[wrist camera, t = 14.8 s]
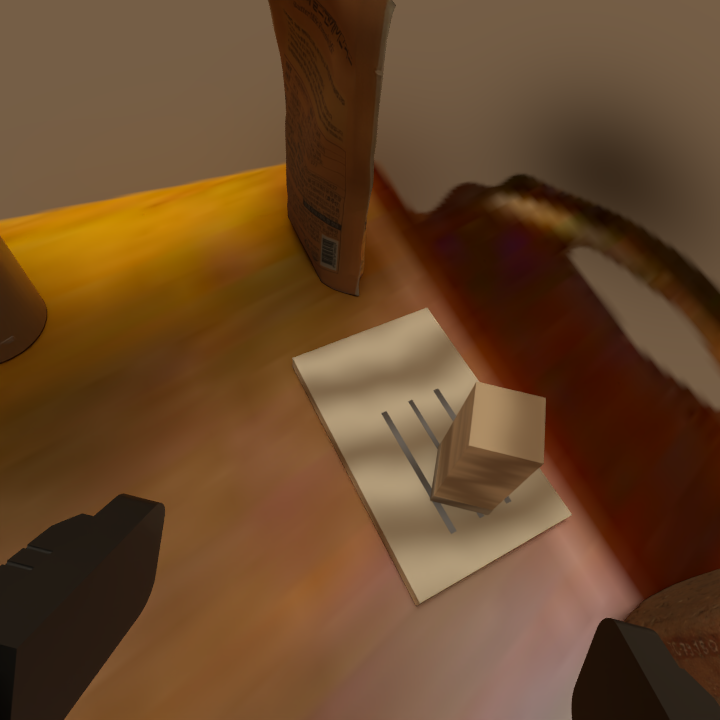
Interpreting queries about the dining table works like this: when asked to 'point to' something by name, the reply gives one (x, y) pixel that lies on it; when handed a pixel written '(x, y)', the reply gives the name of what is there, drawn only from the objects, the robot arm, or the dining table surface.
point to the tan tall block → (489, 448)
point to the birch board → (414, 450)
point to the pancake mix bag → (331, 125)
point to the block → (688, 626)
